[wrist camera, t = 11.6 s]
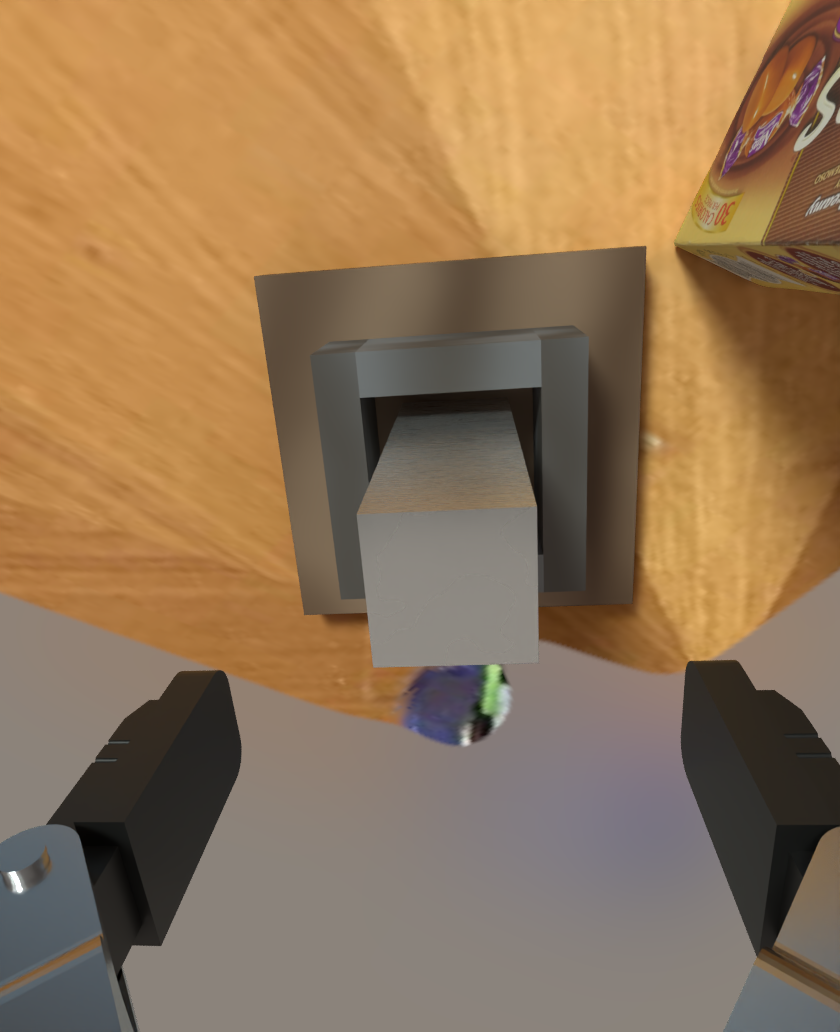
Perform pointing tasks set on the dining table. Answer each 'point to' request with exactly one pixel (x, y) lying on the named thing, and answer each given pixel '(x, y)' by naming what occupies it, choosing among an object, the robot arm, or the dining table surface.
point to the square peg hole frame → (458, 376)
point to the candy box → (780, 165)
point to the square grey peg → (451, 540)
